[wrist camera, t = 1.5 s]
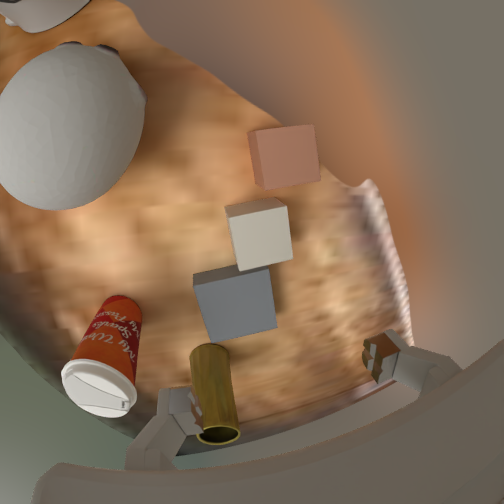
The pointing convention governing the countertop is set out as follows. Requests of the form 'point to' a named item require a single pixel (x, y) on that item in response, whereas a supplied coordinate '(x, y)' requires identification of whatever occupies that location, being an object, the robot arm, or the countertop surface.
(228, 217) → the brick
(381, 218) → the countertop surface
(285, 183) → the brick
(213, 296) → the base
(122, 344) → the coffee cup
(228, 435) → the vase
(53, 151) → the toy
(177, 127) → the countertop surface
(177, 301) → the countertop surface
